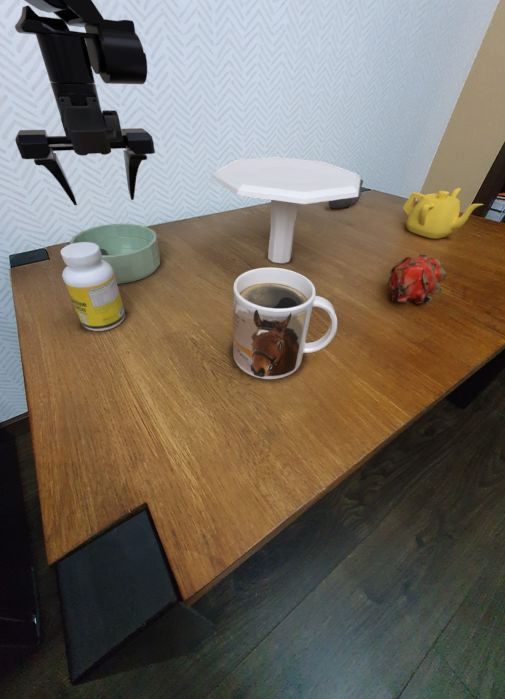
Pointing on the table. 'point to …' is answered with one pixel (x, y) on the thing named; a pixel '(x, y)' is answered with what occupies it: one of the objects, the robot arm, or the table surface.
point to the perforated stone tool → (345, 200)
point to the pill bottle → (92, 286)
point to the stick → (103, 252)
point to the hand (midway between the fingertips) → (104, 201)
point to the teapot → (435, 213)
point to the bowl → (125, 249)
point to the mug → (275, 321)
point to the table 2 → (287, 191)
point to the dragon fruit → (416, 279)
